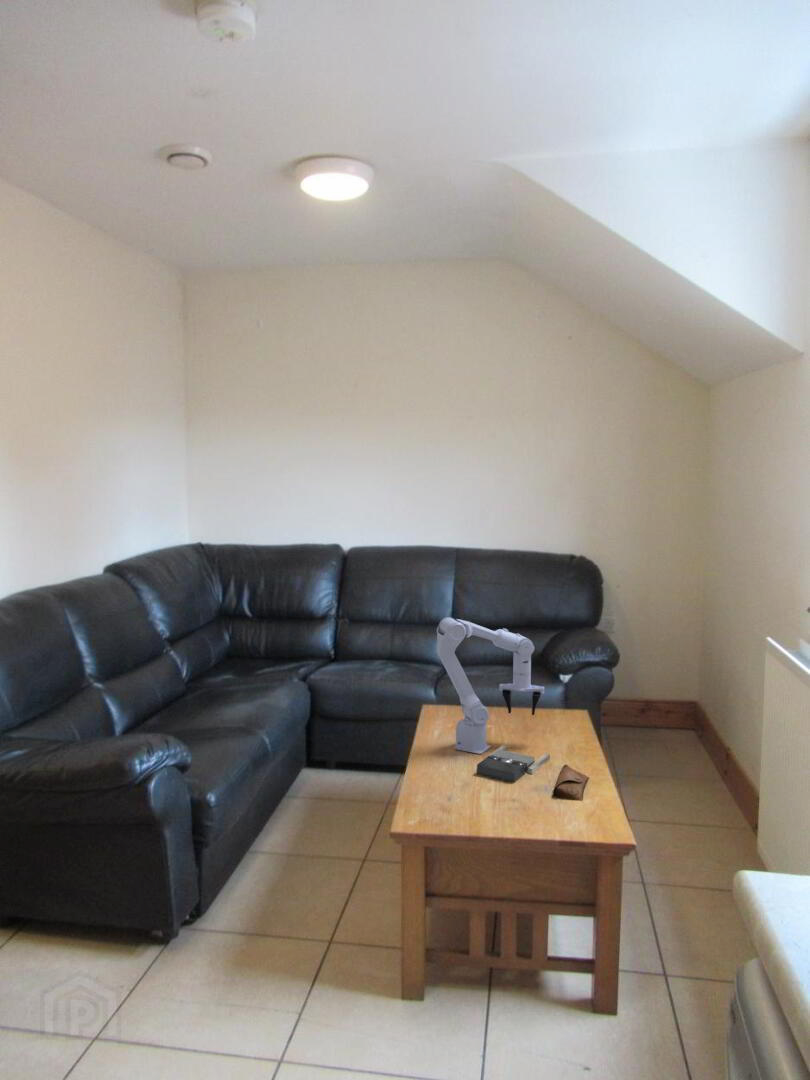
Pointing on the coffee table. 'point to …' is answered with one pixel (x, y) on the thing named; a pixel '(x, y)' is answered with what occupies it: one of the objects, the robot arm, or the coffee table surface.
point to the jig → (535, 765)
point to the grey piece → (514, 757)
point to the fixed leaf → (501, 769)
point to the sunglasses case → (570, 784)
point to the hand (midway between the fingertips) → (521, 713)
